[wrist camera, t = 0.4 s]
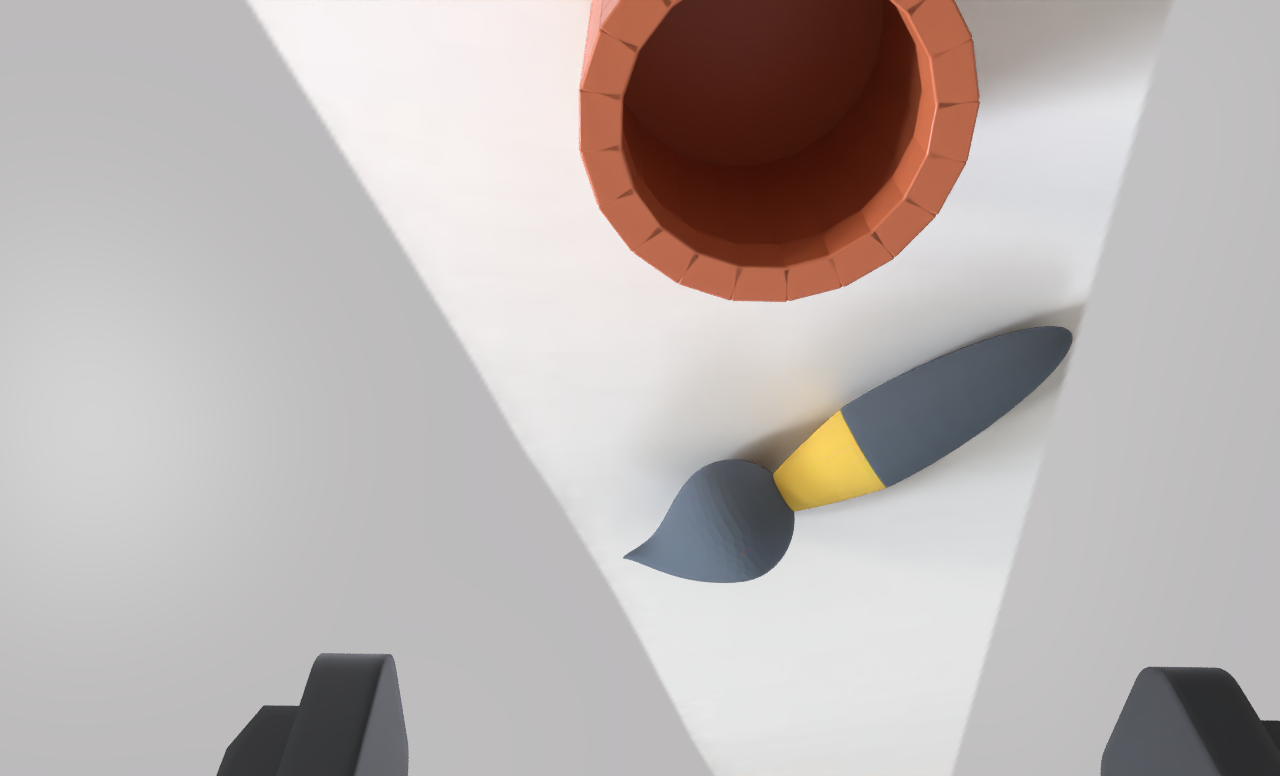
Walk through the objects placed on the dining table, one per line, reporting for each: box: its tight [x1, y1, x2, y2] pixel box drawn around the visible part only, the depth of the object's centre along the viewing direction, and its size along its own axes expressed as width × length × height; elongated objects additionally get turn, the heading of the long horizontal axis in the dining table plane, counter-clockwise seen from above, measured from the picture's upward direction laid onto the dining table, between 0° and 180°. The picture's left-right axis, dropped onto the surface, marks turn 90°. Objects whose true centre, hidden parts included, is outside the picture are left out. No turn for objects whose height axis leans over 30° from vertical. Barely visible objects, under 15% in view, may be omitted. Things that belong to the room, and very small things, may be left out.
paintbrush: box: [623, 326, 1072, 583], centre depth 41 cm, size 20×5×5 cm, turn 128°
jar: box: [579, 0, 979, 302], centre depth 30 cm, size 10×10×10 cm
